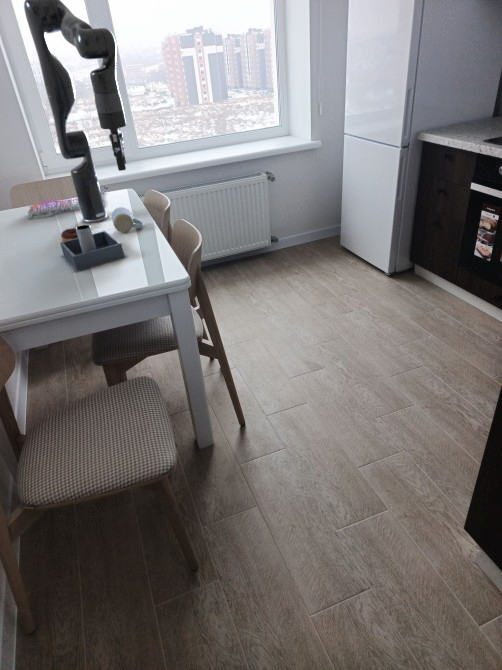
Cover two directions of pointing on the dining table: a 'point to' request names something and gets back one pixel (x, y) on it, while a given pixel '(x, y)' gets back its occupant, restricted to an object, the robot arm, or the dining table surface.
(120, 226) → the ceramic mug
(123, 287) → the dining table surface
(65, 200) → the multicolour bumpy slab
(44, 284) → the dining table surface
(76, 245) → the dark grey open tray
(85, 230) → the white and black tumbler
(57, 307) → the dining table surface
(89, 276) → the dining table surface
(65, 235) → the donut
